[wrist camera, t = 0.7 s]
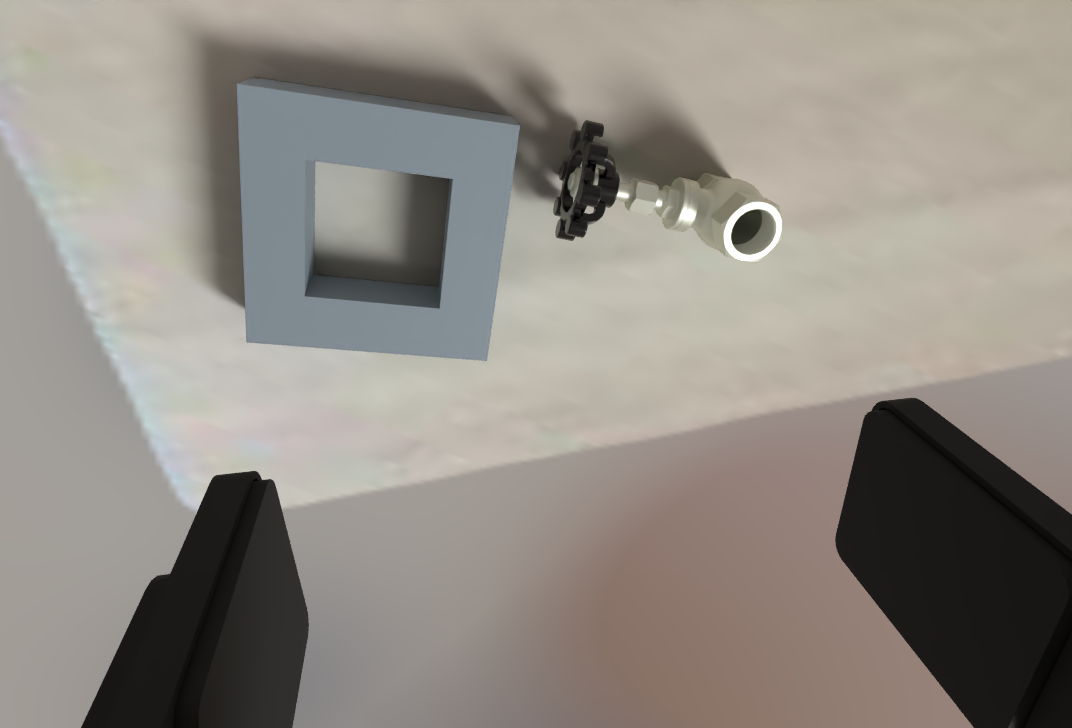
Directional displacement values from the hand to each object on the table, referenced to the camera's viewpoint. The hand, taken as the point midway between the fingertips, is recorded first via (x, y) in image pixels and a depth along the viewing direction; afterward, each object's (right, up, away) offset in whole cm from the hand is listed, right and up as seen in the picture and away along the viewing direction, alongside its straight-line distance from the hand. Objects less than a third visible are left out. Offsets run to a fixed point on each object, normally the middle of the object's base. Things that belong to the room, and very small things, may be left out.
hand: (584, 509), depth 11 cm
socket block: (-10, +11, +29) cm, 33 cm away
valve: (+6, +13, +31) cm, 34 cm away
